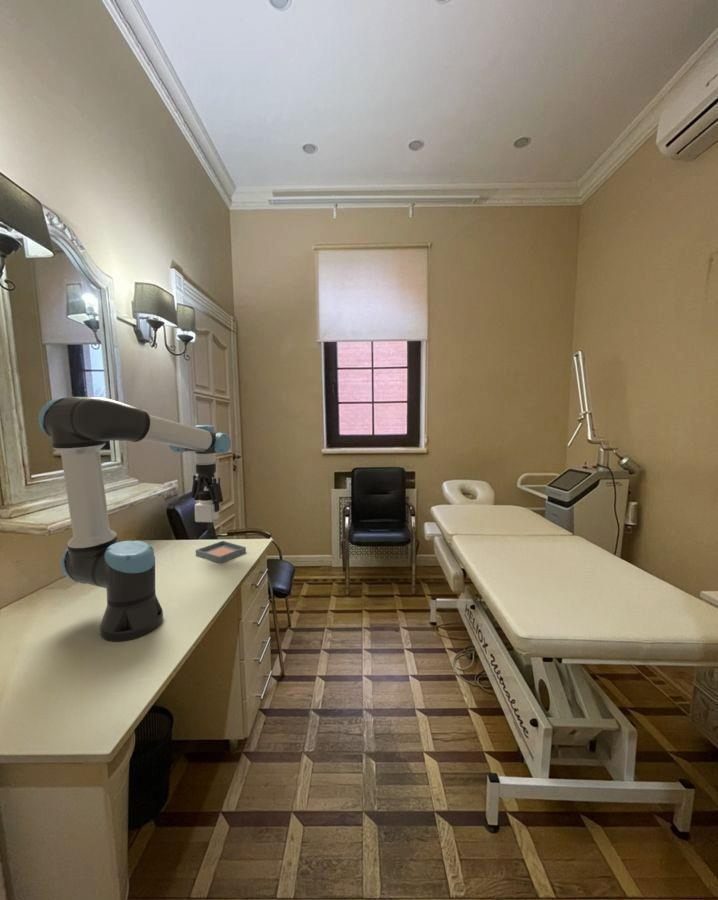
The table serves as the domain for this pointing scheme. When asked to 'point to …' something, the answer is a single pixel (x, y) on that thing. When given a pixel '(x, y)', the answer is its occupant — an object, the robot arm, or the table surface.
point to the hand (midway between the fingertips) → (207, 516)
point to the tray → (220, 551)
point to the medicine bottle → (204, 507)
